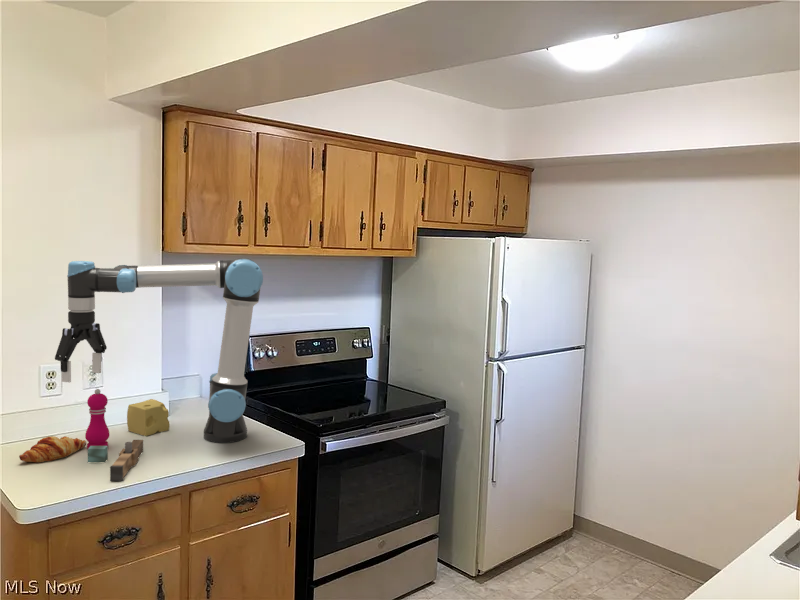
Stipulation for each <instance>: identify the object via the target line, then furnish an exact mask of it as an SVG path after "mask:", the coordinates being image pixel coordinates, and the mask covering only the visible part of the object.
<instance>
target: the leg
mask: <svg viewBox="0 0 800 600" xmlns="http://www.w3.org/2000/svg"><path fill="white" fill-rule="evenodd" d="M138 452H139V448H132V453H131V454H125V447H124V448H122V449H121V450H120V451H119V453H118V457H117V458H116V460H115V461H114V462H113V463H112V465H110V467H109V468H110V469H109V481H110V482H111V481H112V482H113V481H114V482H115V481H118V482H120V481H123V479H124V478H125V476H126V475H127V473H128V472H129V471H130V469H131V468H132V467H135V466H136V465H137V464H138V462H139V458H138Z"/></svg>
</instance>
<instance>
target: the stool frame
mask: <svg viewBox="0 0 800 600" xmlns="http://www.w3.org/2000/svg"><path fill="white" fill-rule="evenodd" d="M108 447H109V445H108V446H90V447H89V448H88V450H87V463H88V462H105V461H106V460H107V461H108V457H109V456H108V449H109V448H108ZM124 448H125V454H131V453H132V448H139V452H138V457H139V458H140V456H141V455H142V454H143V453H144V440H143V439H133V440H132V441H127V442H125V443H124ZM141 453H142V454H141ZM107 461H106V462H107ZM106 462H105V463H106Z"/></svg>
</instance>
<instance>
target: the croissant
mask: <svg viewBox="0 0 800 600" xmlns="http://www.w3.org/2000/svg"><path fill="white" fill-rule="evenodd" d="M85 446H87V440H86V439H85V440H82V439H81V438H78V437H76V438H72V437H69V436H63V437H60V438H59V437H58V436H54V435H53V436H46V437H42V438H41V439H39V440H38V441H37V442H36V443H35V444H34V445H32V446H31V447H30V449H28V450H26V451H24V452H23V453H22V454H20V455H19V457H18V458H19V460H20V461H22V462H26V463H44V461H45V462H52V461H55V460H59V459H64V458H66V457H68V456H70V455H72V454H74V453H76V452H77V451H79V450H82V449H83V448H85Z"/></svg>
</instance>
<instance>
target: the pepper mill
mask: <svg viewBox="0 0 800 600" xmlns="http://www.w3.org/2000/svg"><path fill="white" fill-rule="evenodd" d="M86 403H87V407H89V409H88V411H89V412H88V413H89V414H90V420H89V421H90V422H89V424H88V427H87V429H86V431H85V436H84V437H85V441H86V450H87V451H88V448H89V447H90V446H108V447H109V442H108V441H107V440H108V439H109V438H110V429H109V427H108V426H107V425H108V424H107V422H106V419H105V413H106V412H107V411H106V410H107V409H106V406H107V405H108V397H107V395H105V394H104V393H101V389H99V388H96V389H95V390H94V393H93V394H91V395H90V396H89V397H88V398H87V402H86Z"/></svg>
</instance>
